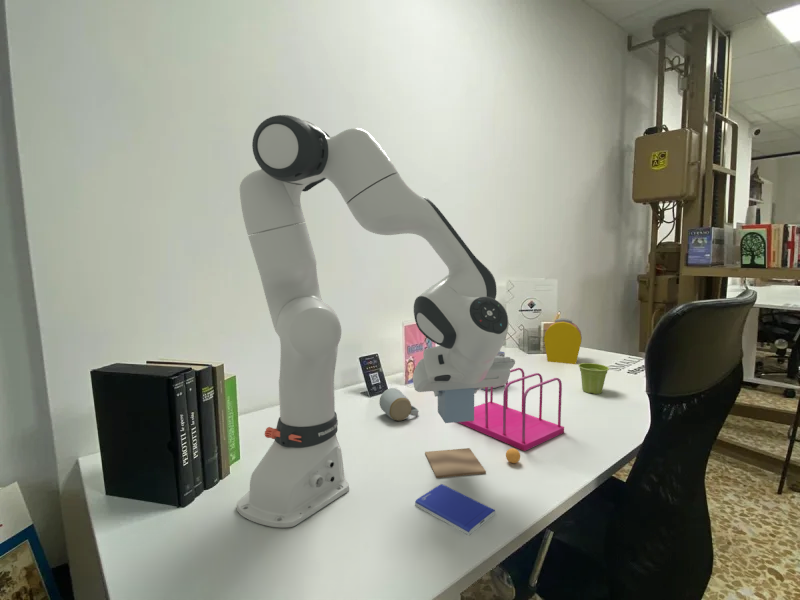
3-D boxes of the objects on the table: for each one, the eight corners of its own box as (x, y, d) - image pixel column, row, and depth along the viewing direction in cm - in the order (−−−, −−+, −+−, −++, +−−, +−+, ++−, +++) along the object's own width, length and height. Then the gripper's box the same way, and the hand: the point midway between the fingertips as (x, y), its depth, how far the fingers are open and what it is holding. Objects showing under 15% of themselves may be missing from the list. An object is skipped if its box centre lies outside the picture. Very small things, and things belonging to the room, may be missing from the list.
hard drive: (414, 500, 80) (468, 529, 71) (442, 482, 86) (495, 508, 77) (414, 507, 80) (468, 538, 72) (442, 490, 86) (495, 516, 77)
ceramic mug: (389, 424, 118) (390, 397, 117) (378, 414, 125) (379, 389, 124) (423, 418, 122) (423, 392, 121) (411, 409, 129) (411, 384, 129)
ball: (518, 467, 94) (519, 453, 94) (504, 464, 95) (504, 450, 95) (521, 460, 97) (521, 447, 96) (507, 457, 98) (507, 444, 98)
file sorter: (524, 452, 101) (526, 389, 99) (450, 420, 121) (451, 366, 119) (564, 433, 112) (566, 375, 110) (490, 406, 131) (491, 357, 129)
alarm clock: (580, 360, 185) (582, 318, 183) (580, 364, 178) (582, 321, 176) (545, 356, 191) (546, 316, 189) (543, 361, 184) (544, 319, 182)
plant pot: (593, 385, 150) (594, 361, 149) (614, 394, 141) (615, 368, 140) (571, 388, 147) (572, 364, 146) (591, 397, 138) (592, 371, 137)
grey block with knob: (474, 420, 92) (474, 375, 91) (445, 423, 91) (444, 377, 90) (464, 409, 98) (464, 367, 97) (437, 411, 97) (437, 368, 96)
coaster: (485, 473, 91) (485, 471, 91) (436, 478, 90) (436, 475, 90) (469, 450, 102) (469, 448, 102) (425, 453, 100) (425, 451, 100)
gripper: (513, 344, 87) (494, 376, 98) (416, 349, 84) (408, 382, 95) (522, 371, 84) (502, 401, 94) (421, 378, 80) (412, 408, 91)
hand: (454, 392), depth 95 cm, fingers closed on grey block with knob, 6 cm apart
